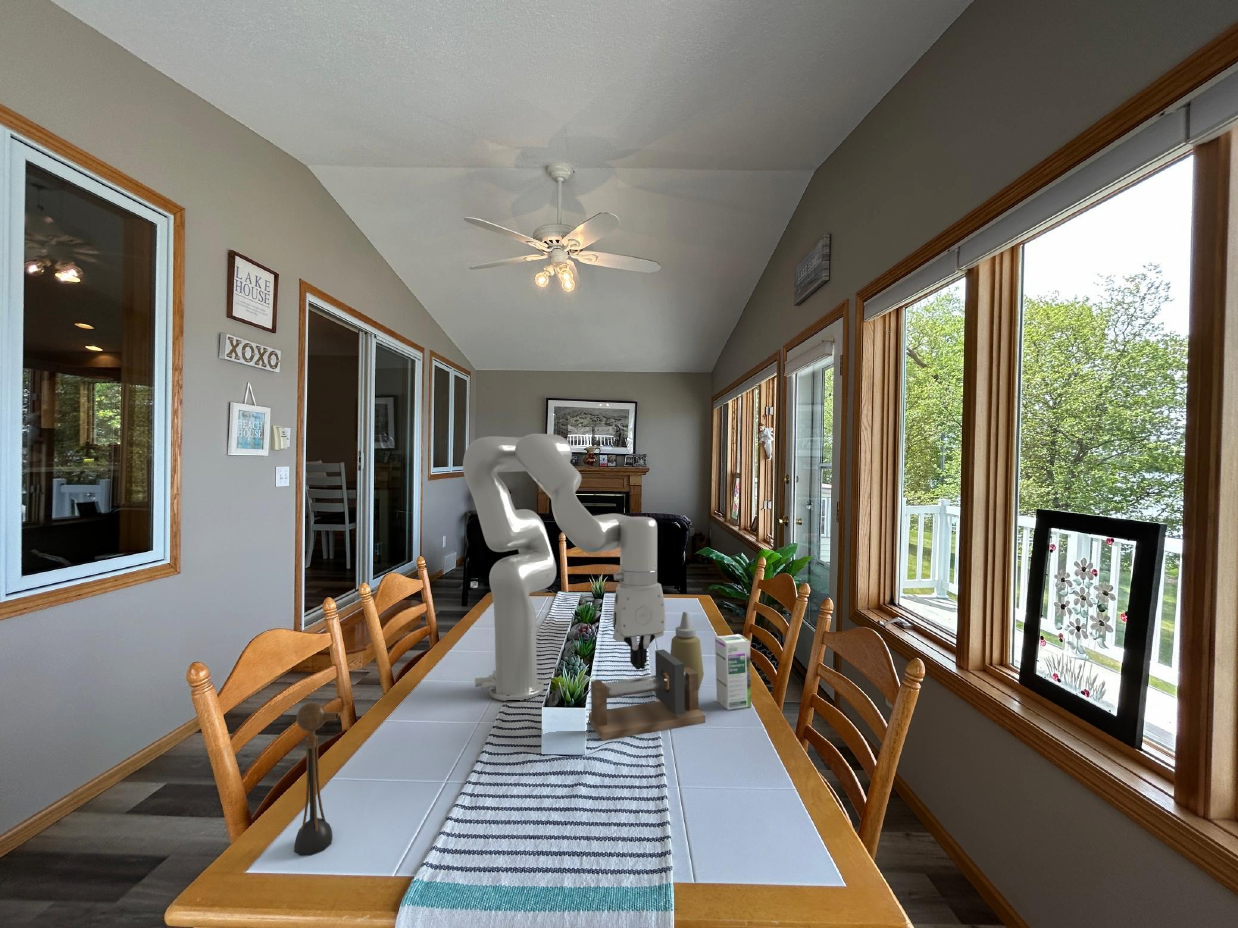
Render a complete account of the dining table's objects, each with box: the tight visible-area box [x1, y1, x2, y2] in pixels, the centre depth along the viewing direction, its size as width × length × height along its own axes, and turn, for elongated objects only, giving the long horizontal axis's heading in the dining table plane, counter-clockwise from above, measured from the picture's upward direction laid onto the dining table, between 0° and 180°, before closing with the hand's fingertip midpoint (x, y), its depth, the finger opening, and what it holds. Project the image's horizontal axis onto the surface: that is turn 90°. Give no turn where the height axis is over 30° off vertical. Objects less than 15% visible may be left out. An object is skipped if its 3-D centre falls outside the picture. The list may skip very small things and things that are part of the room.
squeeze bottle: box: [670, 611, 705, 692], centre depth 139 cm, size 8×8×18 cm
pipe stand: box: [588, 667, 706, 742], centre depth 122 cm, size 22×10×9 cm, turn 110°
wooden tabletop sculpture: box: [293, 701, 339, 857], centre depth 84 cm, size 6×5×20 cm
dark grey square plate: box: [654, 649, 685, 715], centre depth 124 cm, size 2×10×10 cm, turn 20°
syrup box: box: [714, 633, 752, 711], centre depth 130 cm, size 6×6×14 cm
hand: (638, 666), depth 122 cm, fingers closed
